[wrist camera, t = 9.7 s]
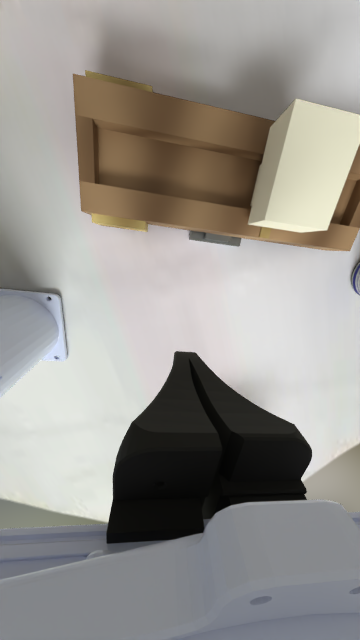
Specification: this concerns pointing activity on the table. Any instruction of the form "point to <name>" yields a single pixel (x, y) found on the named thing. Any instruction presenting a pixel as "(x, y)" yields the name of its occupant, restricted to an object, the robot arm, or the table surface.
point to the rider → (304, 167)
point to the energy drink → (356, 279)
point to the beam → (182, 166)
